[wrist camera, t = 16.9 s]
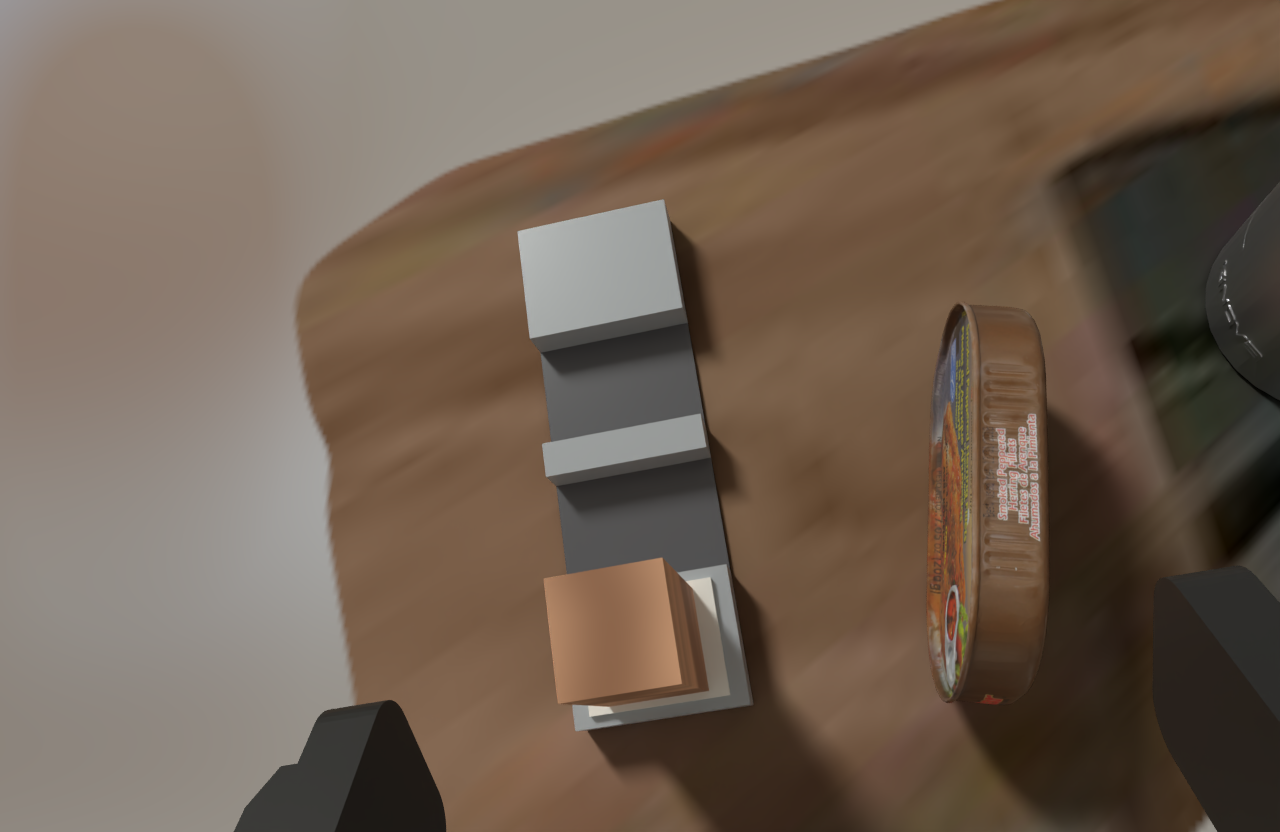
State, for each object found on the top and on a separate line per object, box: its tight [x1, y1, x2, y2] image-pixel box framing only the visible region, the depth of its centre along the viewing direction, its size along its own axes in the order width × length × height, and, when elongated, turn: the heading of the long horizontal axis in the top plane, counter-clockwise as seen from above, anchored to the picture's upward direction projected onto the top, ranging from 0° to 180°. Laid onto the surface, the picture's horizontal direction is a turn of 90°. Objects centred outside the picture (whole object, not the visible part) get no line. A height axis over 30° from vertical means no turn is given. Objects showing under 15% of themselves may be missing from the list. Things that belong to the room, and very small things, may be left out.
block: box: [544, 558, 709, 707], centre depth 35 cm, size 4×4×8 cm
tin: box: [926, 302, 1050, 705], centre depth 37 cm, size 15×3×8 cm, turn 174°
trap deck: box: [518, 199, 754, 731], centre depth 43 cm, size 7×22×2 cm, turn 8°
